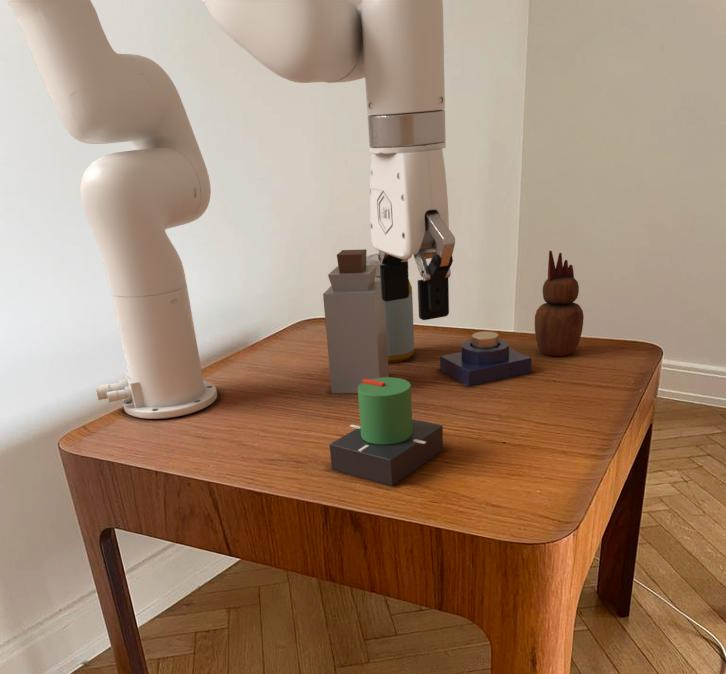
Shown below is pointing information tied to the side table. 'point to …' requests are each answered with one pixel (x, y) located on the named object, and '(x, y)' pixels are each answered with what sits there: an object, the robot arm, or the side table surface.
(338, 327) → the perfume bottle
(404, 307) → the bottle
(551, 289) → the wooden figurine
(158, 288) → the robot arm
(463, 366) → the button block
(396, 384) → the green rotary knob
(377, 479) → the knob base
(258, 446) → the side table surface
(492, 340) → the button
